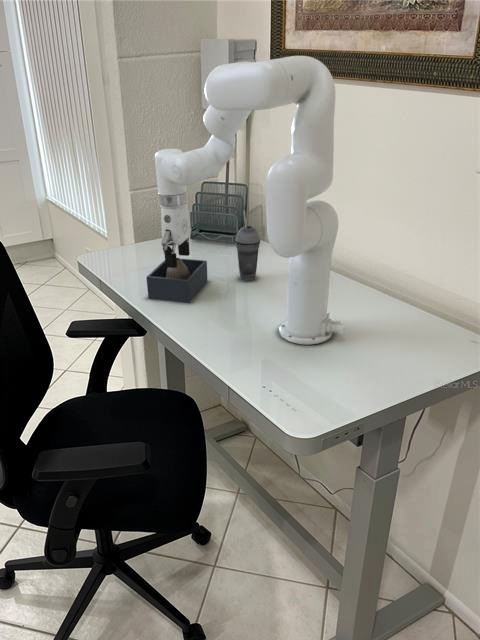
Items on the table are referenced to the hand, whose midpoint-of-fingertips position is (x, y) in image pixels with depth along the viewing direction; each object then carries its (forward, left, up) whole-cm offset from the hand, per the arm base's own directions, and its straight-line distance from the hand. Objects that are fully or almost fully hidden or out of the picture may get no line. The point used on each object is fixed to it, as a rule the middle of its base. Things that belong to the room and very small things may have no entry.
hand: (178, 261), depth 164 cm
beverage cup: (-17, -13, -9) cm, 23 cm away
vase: (0, 0, -9) cm, 9 cm away
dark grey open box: (0, 0, -9) cm, 9 cm away
